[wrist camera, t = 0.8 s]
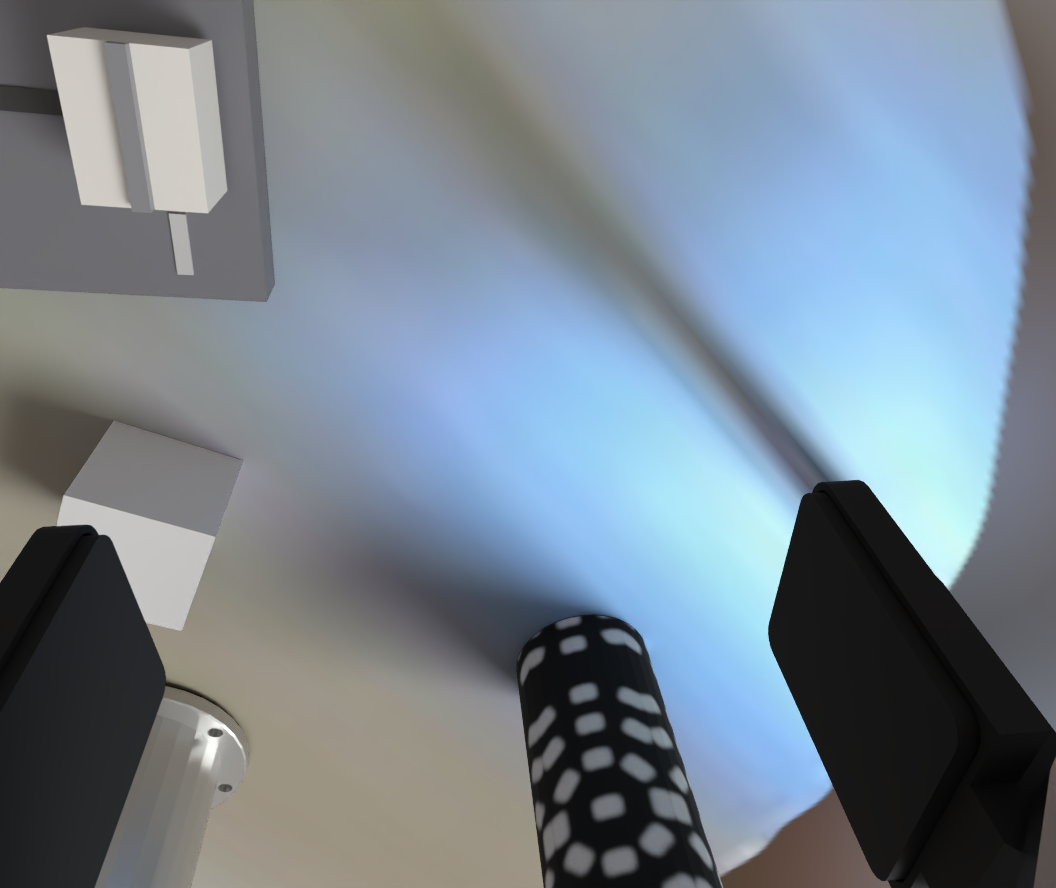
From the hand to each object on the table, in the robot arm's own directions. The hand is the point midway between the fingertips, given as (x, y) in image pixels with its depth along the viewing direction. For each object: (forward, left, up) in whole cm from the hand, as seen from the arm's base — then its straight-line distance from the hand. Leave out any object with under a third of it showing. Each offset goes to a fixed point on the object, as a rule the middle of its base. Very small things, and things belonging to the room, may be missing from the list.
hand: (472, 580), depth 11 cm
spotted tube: (-29, -10, -25) cm, 40 cm away
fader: (+2, +10, -22) cm, 24 cm away
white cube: (-16, +13, -25) cm, 32 cm away
